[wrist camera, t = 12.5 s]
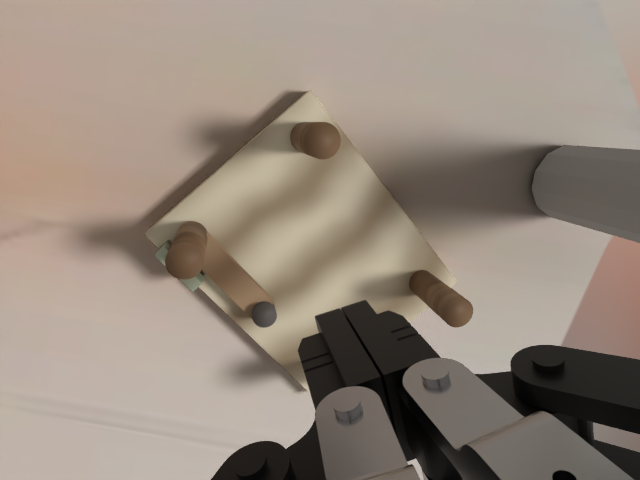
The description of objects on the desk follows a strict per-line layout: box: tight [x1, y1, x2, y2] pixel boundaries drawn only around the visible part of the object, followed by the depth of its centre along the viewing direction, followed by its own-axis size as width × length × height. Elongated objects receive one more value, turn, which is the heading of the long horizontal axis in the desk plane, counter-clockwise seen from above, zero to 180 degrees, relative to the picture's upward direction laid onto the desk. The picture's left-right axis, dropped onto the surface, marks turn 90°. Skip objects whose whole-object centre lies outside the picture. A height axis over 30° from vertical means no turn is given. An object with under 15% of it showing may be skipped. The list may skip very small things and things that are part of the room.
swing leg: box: [165, 221, 277, 328], centre depth 33 cm, size 11×2×7 cm, turn 39°
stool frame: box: [145, 90, 473, 393], centre depth 36 cm, size 22×17×9 cm
